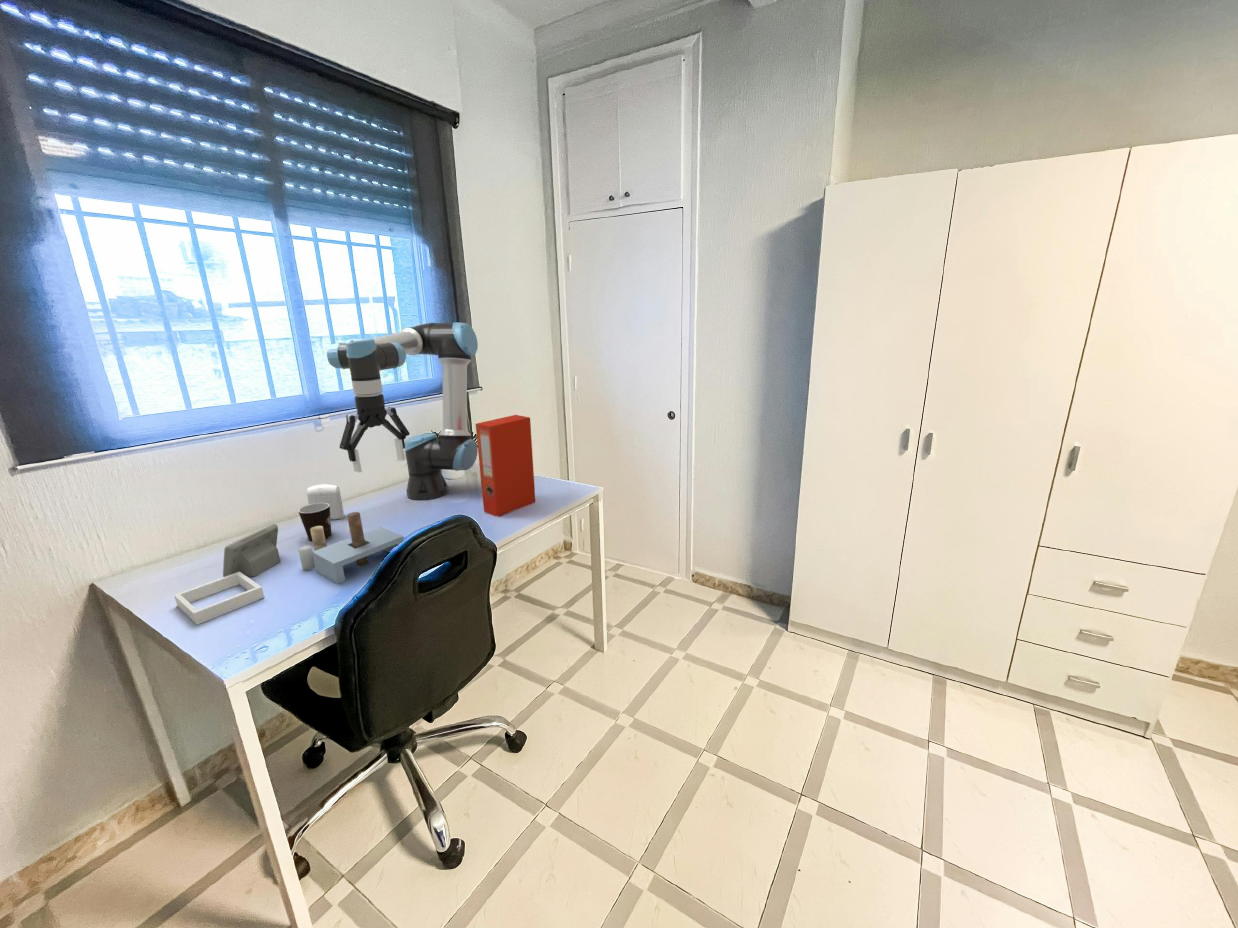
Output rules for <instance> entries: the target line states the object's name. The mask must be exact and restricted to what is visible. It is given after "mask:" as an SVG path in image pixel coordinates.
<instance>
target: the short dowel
mask: <svg viewBox="0 0 1238 928" xmlns="http://www.w3.org/2000/svg"><path fill="white" fill-rule="evenodd" d="M297 551H298V555H299V559H300V563H301V567H302V570H303V571H310V570H313V569H315V564H314V559H313V555H312V552H313V547H312V546H311V545H304V546H301V547H299V548H298V550H297Z"/></svg>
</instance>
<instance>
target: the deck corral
mask: <svg viewBox="0 0 1238 928" xmlns="http://www.w3.org/2000/svg"><path fill="white" fill-rule="evenodd" d="M238 585H240V586H241V587H243V588H244V589H245V591H244V592H240V593H238V594H236V595H233V596H231V597H228V598H226V599H223V600H220V601H218V602H215V603H212V604H209V605H207V606H204V607H201V608H200V609H197V608H196V607H194V605H192V603H193V602H196V601H199V600H201V599H204V598H206V597H208V596H212V595H214V594H216V593H219V592H222V591H225V590H227V589H231V588H233V587H236V586H238ZM173 596H174V599H175V603H176V605H177V608H179V609H180V610H181V611H182V612H183V613H185V614H186V616H187V617H189V618H190V619H191V620H192V622H194V623H195V624H196V625H200V624H204V623H205V622H208V621H210V620H212V619H215V618H217V617H220V616H222V615H224V614H227V613H229V612H232V611H235V610H237V609H239V608H242V607H245V606H247V605H249V604H252V603H254V602H257V601H259V600H262V599H264V598H265V595H264V590H263V587H262V586H261V585H259V584H258V583H257V582H255V581H254V580H252V579H251V578H249V576H245V575H244V574H242V573H241V572H237V573H234V574H231V575H229V576H226V577H220V578H218V579H215V580H212V581H208V582H207V583H204V584H201V585H199V586H195V587H193V588H189V589H187V590H184V591H182V592H179V593H175V594H173Z"/></svg>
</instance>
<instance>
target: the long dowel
mask: <svg viewBox="0 0 1238 928" xmlns="http://www.w3.org/2000/svg"><path fill="white" fill-rule="evenodd" d="M346 517H347V523H348V528H349V534H350V538H351V539H352V545H353V548H355V549H356V548H358V547H361V546H364V545H365V539H364V534H363V533H364V529H363V524H362V517H361V513H360V512H359V511H354V512H353V511H352V512H349V513H347V514H346ZM368 556H369V555H368ZM368 556H365V557H363V558H360V559H358V560H355V561H354V562H355V565H356V566H358V567H359V566H365V565H367V564H369V557H368Z"/></svg>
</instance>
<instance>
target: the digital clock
mask: <svg viewBox="0 0 1238 928" xmlns="http://www.w3.org/2000/svg"><path fill="white" fill-rule="evenodd" d="M278 534H279V527H278V525H277V524H276V523H270V524H267V525H266V526H264V527H261V528H259V529H257V530H255V531H253V532H251V533H249V534H247V535H244V536H242V537H239V538H238V539H236V540H234V541H232V542H231V543H228V544H226V545H225V546H224V551H223V563H222V566H223V568H222V576H223V577H226V576H229V575H231V574H234V573H237V572H241V573H242V574H244V575H245V576H247V577H257V576H259V574H261V573H263V572H265V571H267V570H268V569H270V568H272V567H273V566H275V565H277V564H279V563H280V562H281V557H280V552H279V549H278V548H277V543H278ZM223 577H222V578H223Z"/></svg>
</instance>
